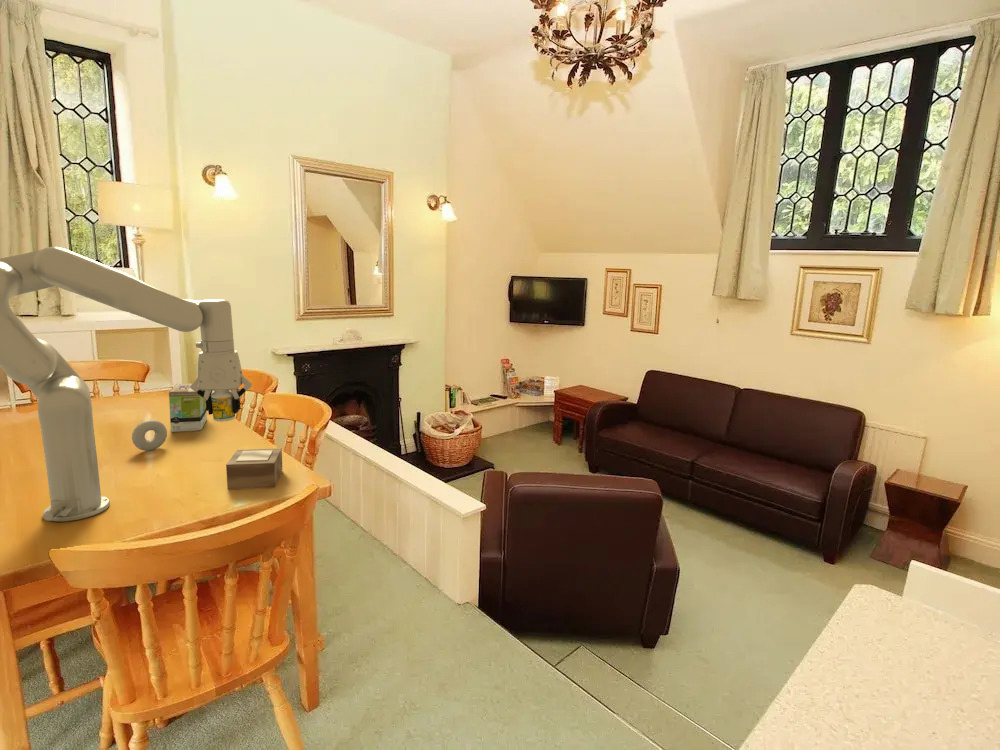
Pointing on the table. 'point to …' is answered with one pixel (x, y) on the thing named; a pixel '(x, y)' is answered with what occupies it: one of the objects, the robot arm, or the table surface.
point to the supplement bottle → (222, 405)
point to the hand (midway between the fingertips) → (223, 412)
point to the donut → (144, 427)
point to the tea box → (186, 409)
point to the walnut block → (254, 468)
